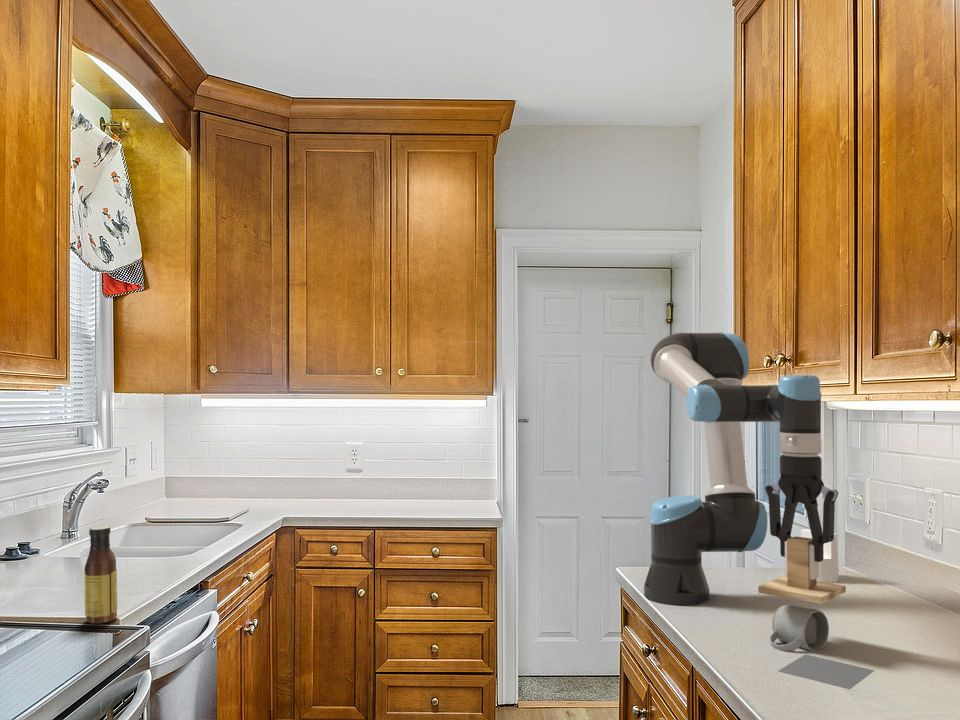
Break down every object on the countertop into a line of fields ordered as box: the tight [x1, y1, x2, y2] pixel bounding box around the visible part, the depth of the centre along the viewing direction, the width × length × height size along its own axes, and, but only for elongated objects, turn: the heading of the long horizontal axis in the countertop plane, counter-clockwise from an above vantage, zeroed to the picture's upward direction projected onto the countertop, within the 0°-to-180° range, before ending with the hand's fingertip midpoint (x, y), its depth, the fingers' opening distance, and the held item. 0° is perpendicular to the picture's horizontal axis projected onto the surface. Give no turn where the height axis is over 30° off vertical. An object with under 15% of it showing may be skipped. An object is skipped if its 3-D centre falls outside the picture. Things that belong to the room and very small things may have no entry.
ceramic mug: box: [768, 604, 830, 652], centre depth 155 cm, size 11×8×8 cm
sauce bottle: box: [83, 525, 118, 625], centre depth 172 cm, size 6×6×20 cm
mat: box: [777, 654, 875, 690], centre depth 141 cm, size 12×12×1 cm
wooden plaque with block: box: [757, 536, 847, 605], centre depth 156 cm, size 12×12×10 cm
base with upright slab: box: [800, 528, 839, 583], centre depth 210 cm, size 9×9×12 cm
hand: (801, 575), depth 156 cm, fingers closed on wooden plaque with block, 4 cm apart
